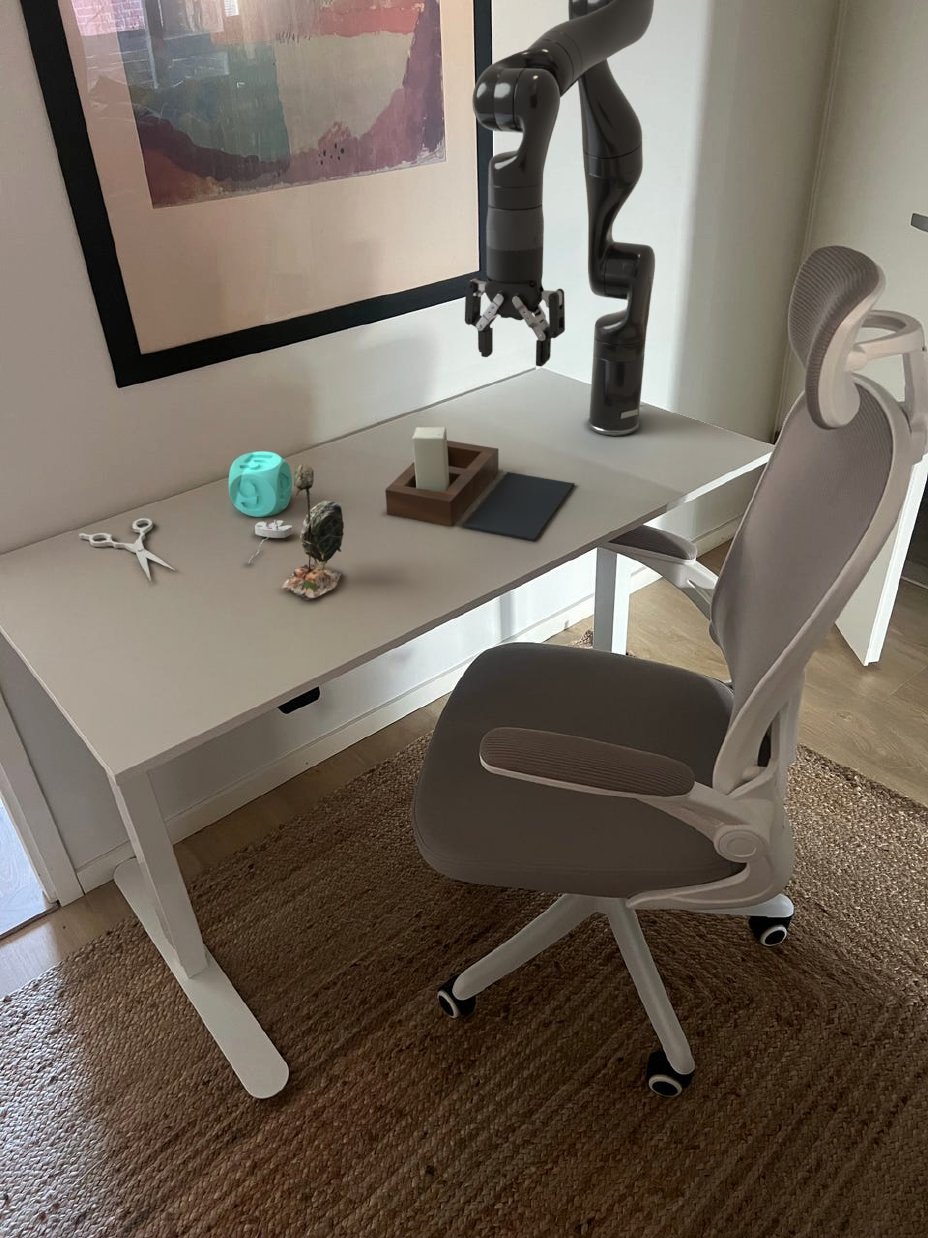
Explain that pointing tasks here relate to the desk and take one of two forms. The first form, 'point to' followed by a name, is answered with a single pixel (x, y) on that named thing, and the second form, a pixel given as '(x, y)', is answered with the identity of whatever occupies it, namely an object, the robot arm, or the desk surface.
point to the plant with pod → (316, 541)
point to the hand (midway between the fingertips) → (513, 359)
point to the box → (431, 458)
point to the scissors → (135, 547)
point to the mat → (519, 506)
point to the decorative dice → (260, 484)
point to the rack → (466, 482)
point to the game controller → (272, 530)
